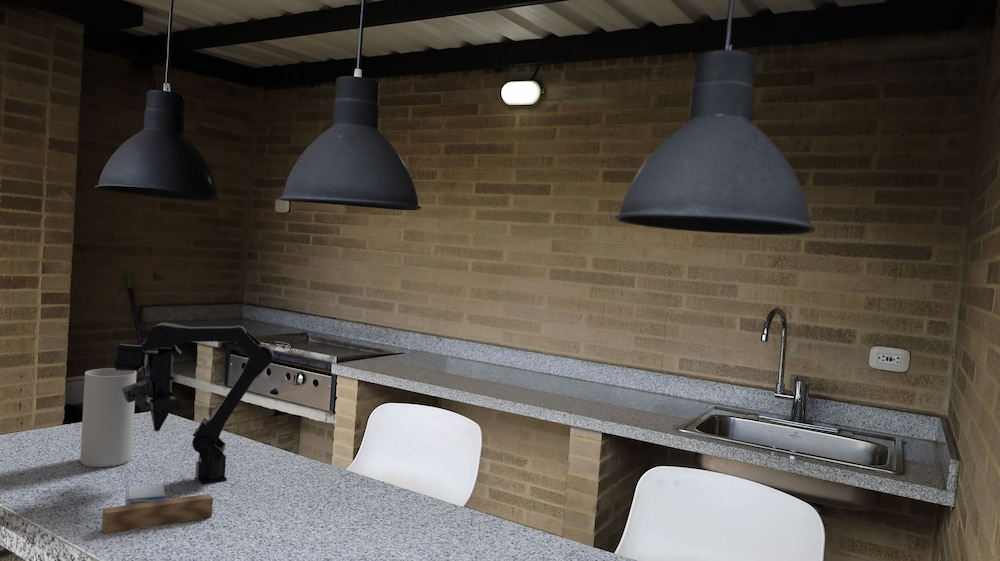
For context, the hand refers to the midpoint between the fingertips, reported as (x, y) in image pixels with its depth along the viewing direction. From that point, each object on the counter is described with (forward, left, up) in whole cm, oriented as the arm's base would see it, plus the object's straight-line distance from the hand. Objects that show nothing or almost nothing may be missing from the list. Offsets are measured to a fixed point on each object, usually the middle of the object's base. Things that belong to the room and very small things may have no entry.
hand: (156, 430), depth 183 cm
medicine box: (+5, +16, -11) cm, 20 cm away
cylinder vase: (+8, -21, -13) cm, 26 cm away
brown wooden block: (+5, +30, -13) cm, 33 cm away
